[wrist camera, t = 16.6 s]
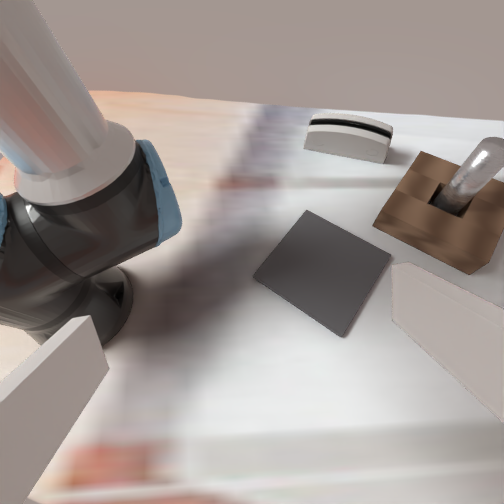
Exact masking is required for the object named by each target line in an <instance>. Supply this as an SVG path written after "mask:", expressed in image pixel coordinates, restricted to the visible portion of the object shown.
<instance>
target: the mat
mask: <svg viewBox="0 0 504 504" xmlns="http://www.w3.org/2000/svg"><path fill="white" fill-rule="evenodd" d="M390 257H391V254H389V253H387V252H385V251H383V250H381V249H379V248H377V247H376V246H374V245H372V244H370V243H368V242H366V241H364V240H362V239H361V238H359V237H357V236H355V235H353V234H351V233H349V232H347V231H346V230H344V229H342V228H340V227H338V226H336V225H334V224H332V223H331V222H329V221H327V220H325V219H323V218H321V217H319V216H317V215H316V214H314V213H312V212H310V211H308V210H306V211H305V212H304V213H303V215H302V216H301V217H300V218H299V220H298V221H297V222H296V223H295V225H294V226H293V227H292V228H291V230H290V231H289V232H288V233H287V234H286V236H285V237H284V238H283V239H282V241H281V242H280V243H279V244H278V246H277V247H276V248H275V249H274V251H273V252H272V253H271V254H270V255H269V257H268V258H267V259H266V260H265V262H264V263H263V264H262V265H261V267H260V268H259V269H258V270H257V272H256V273H255V274H254V275H253V278H255V279H256V280H258V281H259V282H261V283H262V284H263V285H265V286H266V287H268V288H269V289H271V290H272V291H274V292H275V293H277V294H278V295H280V296H281V297H282V298H284V299H285V300H287V301H288V302H290V303H291V304H293V305H294V306H296V307H297V308H299V309H300V310H301V311H303V312H304V313H306V314H307V315H309V316H310V317H312V318H313V319H315V320H316V321H318V322H319V323H320V324H322V325H323V326H325V327H326V328H328V329H329V330H331V331H332V332H334V333H335V334H336V335H338V336H339V337H342V336H343V334H344V332H345V331H346V329H347V327H348V326H349V324H350V323H351V321H352V319H353V318H354V316H355V314H356V313H357V311H358V309H359V308H360V306H361V304H362V303H363V301H364V299H365V298H366V296H367V294H368V293H369V291H370V290H371V288H372V286H373V285H374V283H375V281H376V280H377V278H378V276H379V275H380V273H381V271H382V270H383V268H384V266H385V265H386V263H387V261H388V260H389V258H390Z"/></svg>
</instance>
